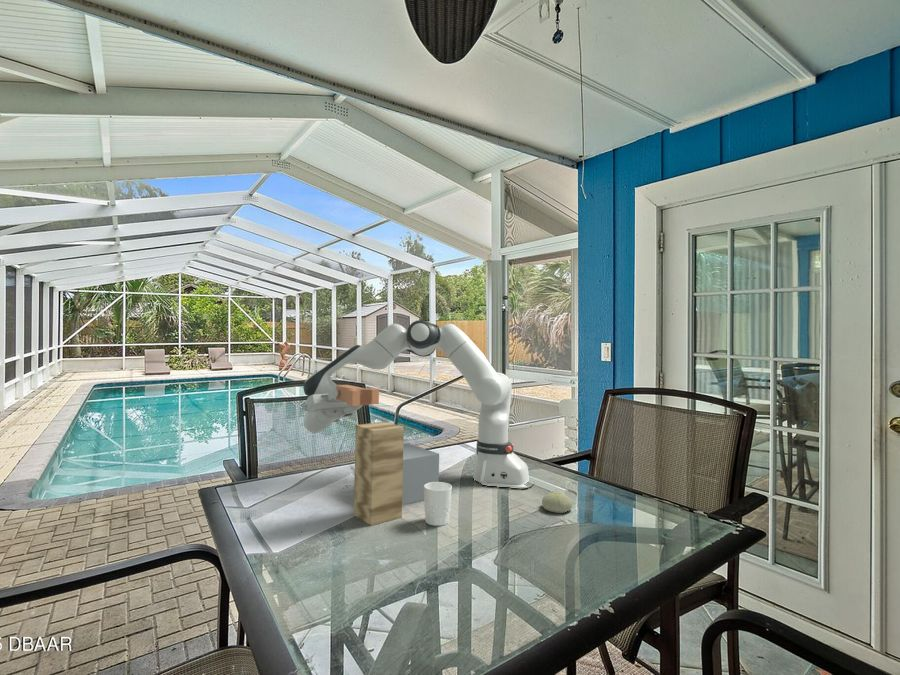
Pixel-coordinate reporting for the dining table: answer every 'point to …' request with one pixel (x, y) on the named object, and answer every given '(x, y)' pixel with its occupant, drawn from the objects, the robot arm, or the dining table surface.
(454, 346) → the robot arm
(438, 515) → the white cup
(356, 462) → the pedestal
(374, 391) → the terracotta notched block
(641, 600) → the dining table surface
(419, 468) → the low block
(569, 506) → the sea urchin shell
